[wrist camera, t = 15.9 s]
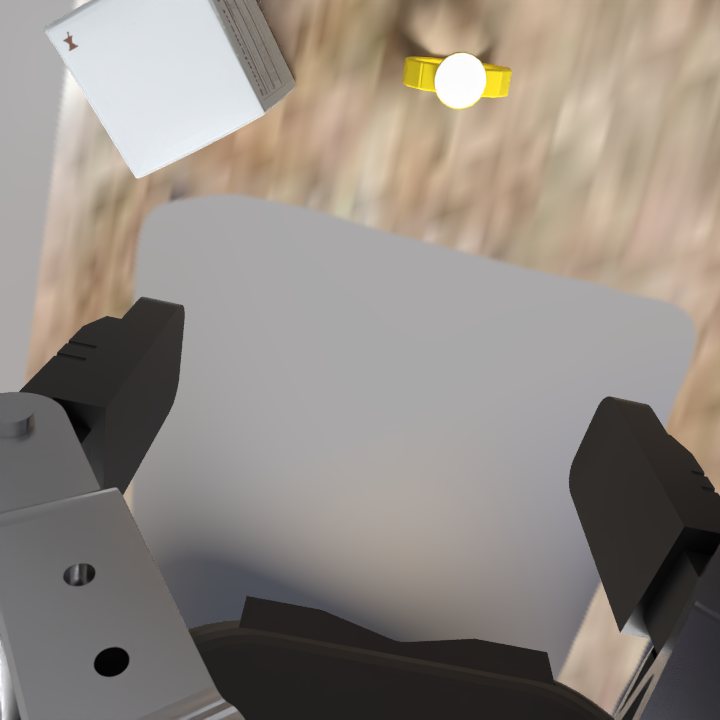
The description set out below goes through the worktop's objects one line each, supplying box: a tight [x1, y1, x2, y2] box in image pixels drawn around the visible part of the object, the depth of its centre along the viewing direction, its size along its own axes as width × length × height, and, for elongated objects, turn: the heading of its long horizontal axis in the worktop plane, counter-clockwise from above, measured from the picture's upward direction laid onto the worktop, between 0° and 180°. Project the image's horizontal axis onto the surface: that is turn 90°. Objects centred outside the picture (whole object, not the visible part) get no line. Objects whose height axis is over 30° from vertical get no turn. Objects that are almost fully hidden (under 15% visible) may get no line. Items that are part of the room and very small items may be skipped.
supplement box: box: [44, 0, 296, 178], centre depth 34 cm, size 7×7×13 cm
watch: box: [403, 52, 512, 109], centre depth 37 cm, size 6×3×6 cm, turn 85°
